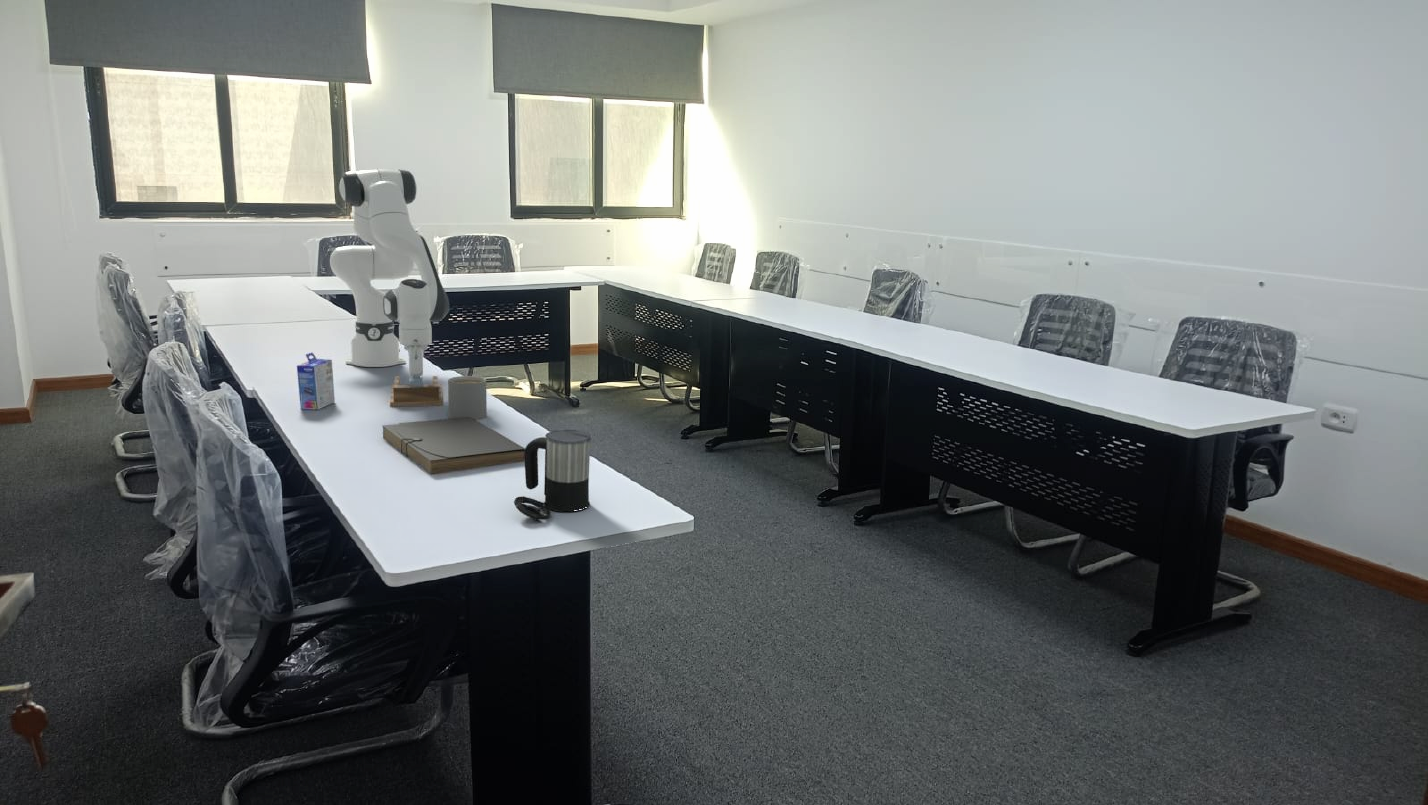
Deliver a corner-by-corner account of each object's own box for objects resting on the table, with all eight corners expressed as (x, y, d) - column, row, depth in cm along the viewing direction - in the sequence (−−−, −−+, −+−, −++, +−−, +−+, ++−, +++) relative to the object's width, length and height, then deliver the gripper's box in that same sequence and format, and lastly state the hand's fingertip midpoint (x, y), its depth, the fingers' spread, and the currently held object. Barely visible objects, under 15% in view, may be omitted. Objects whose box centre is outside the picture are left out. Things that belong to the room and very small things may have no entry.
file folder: (380, 424, 235) (474, 415, 249) (381, 440, 236) (474, 430, 250) (429, 458, 209) (531, 446, 223) (429, 477, 210) (530, 463, 224)
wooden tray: (392, 388, 287) (391, 371, 286) (440, 388, 291) (440, 371, 290) (390, 406, 266) (389, 388, 265) (442, 405, 271) (442, 387, 269)
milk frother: (592, 498, 200) (594, 429, 196) (585, 526, 184) (586, 451, 181) (523, 496, 199) (523, 427, 196) (510, 523, 184) (510, 448, 180)
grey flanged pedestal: (402, 395, 275) (401, 377, 274) (430, 394, 277) (429, 377, 276) (402, 400, 269) (401, 381, 268) (430, 399, 271) (430, 381, 270)
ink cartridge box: (316, 401, 269) (314, 349, 265) (335, 402, 268) (333, 351, 265) (298, 409, 259) (295, 356, 256) (318, 410, 259) (315, 357, 255)
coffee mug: (490, 419, 258) (489, 382, 256) (452, 421, 254) (451, 384, 252) (479, 407, 270) (479, 372, 268) (443, 409, 266) (442, 374, 263)
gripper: (427, 343, 265) (428, 392, 268) (426, 331, 284) (427, 377, 287) (403, 343, 263) (404, 393, 266) (404, 331, 282) (405, 377, 285)
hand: (416, 385), depth 277 cm, fingers closed
